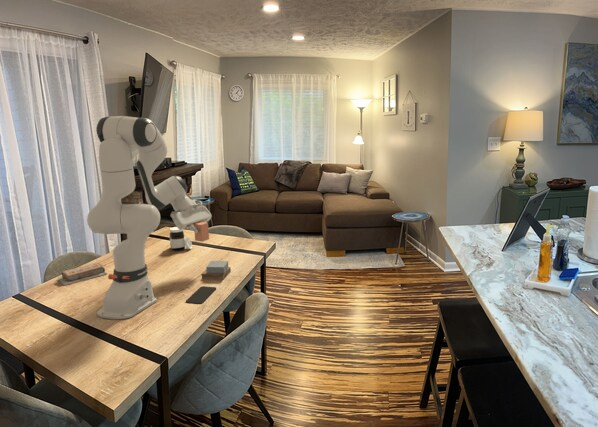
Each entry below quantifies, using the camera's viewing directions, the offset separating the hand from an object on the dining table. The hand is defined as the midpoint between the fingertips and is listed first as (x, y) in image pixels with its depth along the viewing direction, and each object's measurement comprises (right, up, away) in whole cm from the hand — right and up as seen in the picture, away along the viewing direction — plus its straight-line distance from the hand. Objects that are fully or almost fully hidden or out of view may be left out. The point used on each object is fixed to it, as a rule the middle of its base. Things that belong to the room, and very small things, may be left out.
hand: (202, 230), depth 187 cm
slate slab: (+8, -18, -3) cm, 20 cm away
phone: (+5, -26, -23) cm, 35 cm away
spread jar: (-20, -12, +36) cm, 43 cm away
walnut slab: (+7, -21, -3) cm, 22 cm away
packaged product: (-54, -22, -2) cm, 59 cm away
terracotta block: (0, -4, +1) cm, 4 cm away
